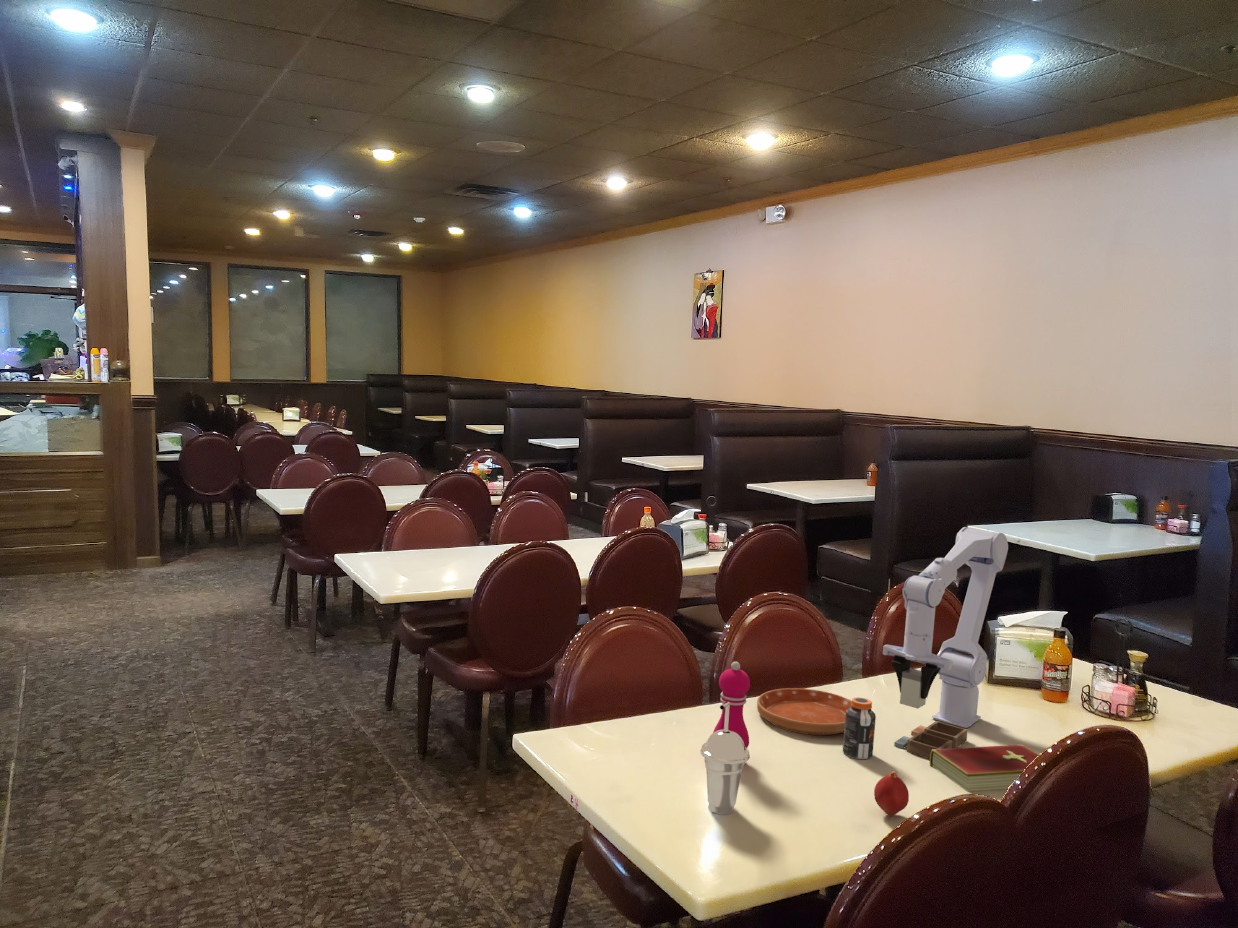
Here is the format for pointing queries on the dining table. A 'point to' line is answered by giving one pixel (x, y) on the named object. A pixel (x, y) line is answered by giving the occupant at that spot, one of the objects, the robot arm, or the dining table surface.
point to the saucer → (804, 710)
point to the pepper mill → (734, 700)
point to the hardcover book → (982, 765)
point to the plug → (911, 688)
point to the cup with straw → (724, 766)
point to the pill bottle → (859, 729)
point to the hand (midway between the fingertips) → (913, 694)
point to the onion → (891, 794)
